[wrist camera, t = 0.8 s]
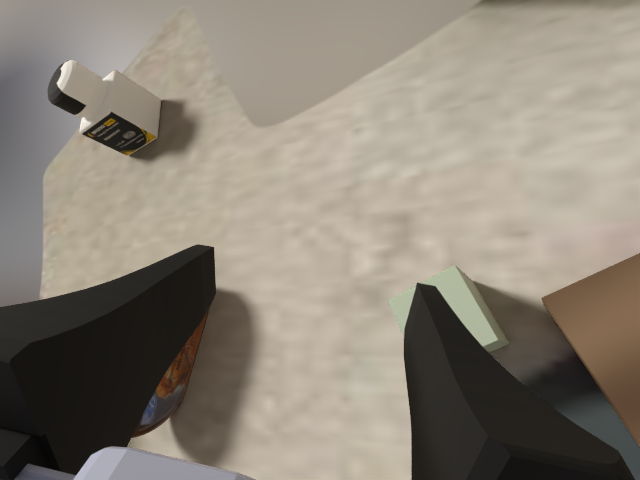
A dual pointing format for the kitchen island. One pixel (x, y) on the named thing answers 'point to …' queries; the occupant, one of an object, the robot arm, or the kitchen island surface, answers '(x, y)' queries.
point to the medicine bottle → (107, 106)
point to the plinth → (606, 333)
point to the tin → (171, 386)
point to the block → (457, 307)
